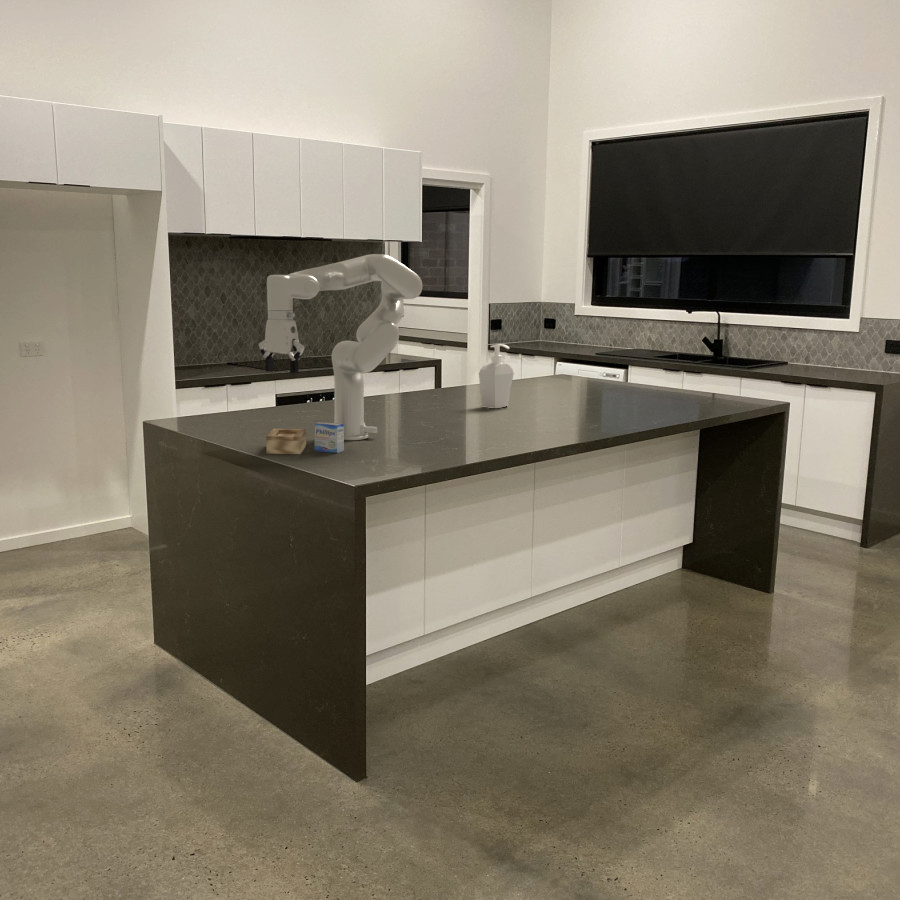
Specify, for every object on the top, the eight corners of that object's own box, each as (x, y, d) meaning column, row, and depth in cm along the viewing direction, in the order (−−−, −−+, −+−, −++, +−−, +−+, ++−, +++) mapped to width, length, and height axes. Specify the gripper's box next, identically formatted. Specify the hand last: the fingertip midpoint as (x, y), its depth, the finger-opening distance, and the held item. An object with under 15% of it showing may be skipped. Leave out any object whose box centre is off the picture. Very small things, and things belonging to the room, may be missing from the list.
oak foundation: (306, 445, 283) (306, 429, 282) (300, 454, 270) (300, 437, 269) (273, 445, 283) (273, 428, 282) (266, 453, 270) (266, 436, 269)
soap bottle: (497, 410, 363) (499, 345, 357) (477, 407, 369) (479, 344, 364) (515, 407, 372) (518, 344, 367) (496, 404, 378) (498, 342, 373)
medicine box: (314, 451, 275) (314, 423, 273) (321, 448, 279) (321, 421, 277) (337, 453, 272) (337, 425, 271) (344, 451, 276) (344, 423, 275)
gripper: (310, 316, 275) (311, 372, 278) (267, 314, 283) (268, 368, 287) (294, 317, 268) (296, 375, 272) (250, 315, 277) (252, 371, 281)
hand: (282, 372), depth 279 cm, fingers open, 9 cm apart
